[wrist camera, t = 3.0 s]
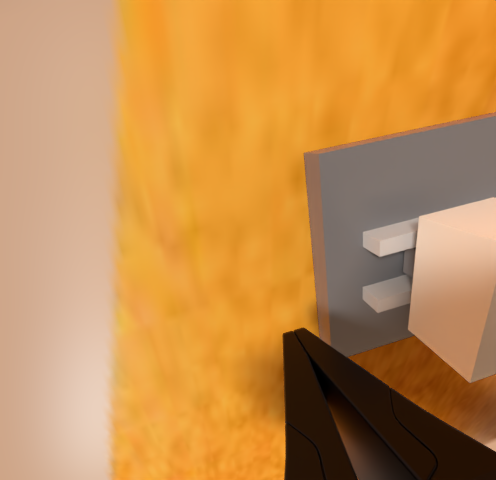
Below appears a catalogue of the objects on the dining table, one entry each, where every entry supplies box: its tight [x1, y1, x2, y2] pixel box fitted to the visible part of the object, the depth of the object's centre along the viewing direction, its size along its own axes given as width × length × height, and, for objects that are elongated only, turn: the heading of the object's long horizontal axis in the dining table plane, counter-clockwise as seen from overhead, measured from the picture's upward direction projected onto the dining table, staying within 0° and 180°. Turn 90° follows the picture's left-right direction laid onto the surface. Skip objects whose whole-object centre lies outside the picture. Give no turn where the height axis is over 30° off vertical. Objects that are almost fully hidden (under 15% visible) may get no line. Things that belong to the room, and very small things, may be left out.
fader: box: [403, 197, 496, 383], centre depth 10 cm, size 6×4×5 cm, turn 11°
